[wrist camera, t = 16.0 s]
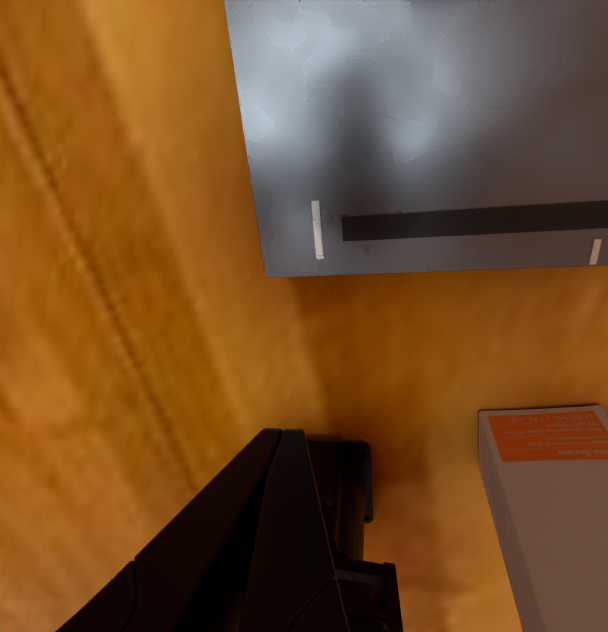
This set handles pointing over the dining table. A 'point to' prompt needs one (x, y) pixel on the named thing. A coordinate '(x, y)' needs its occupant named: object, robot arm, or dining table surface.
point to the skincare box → (550, 512)
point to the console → (424, 133)
